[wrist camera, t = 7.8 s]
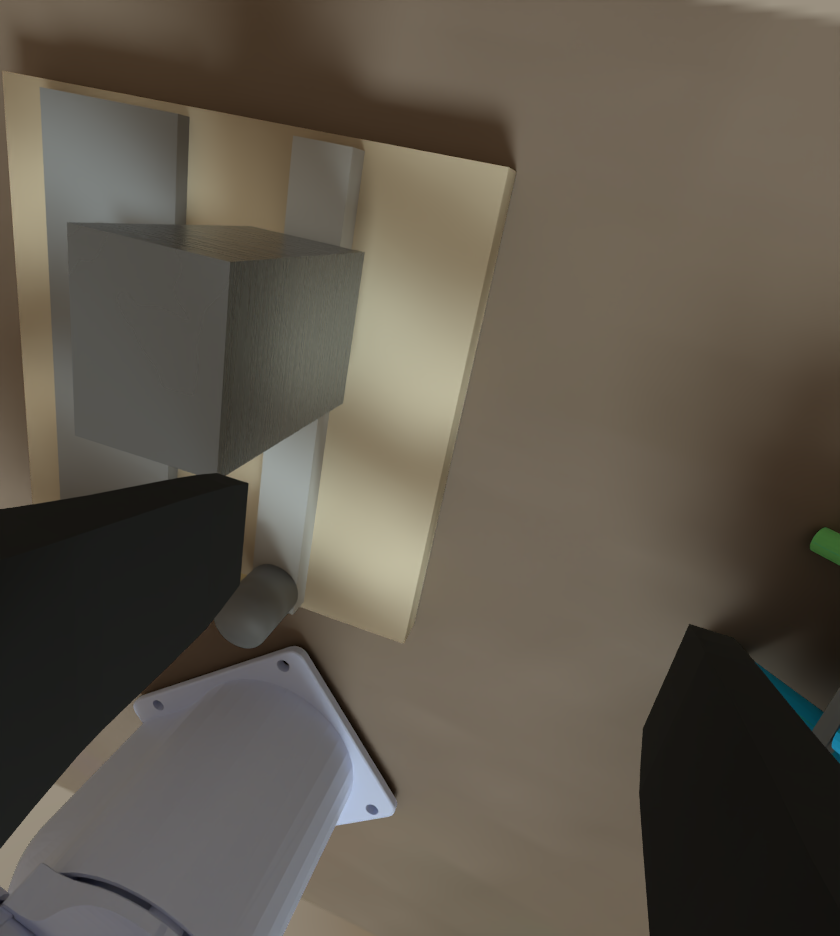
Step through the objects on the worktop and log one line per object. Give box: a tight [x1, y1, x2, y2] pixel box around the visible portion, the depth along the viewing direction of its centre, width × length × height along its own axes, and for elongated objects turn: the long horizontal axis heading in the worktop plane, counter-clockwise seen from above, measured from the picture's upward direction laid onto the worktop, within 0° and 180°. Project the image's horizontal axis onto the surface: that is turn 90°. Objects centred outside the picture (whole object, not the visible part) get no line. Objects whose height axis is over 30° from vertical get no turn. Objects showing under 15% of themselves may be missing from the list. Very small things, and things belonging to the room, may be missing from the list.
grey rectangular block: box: [67, 222, 365, 476], centre depth 14 cm, size 4×7×6 cm, turn 79°
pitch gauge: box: [2, 71, 516, 648], centre depth 19 cm, size 14×15×4 cm
